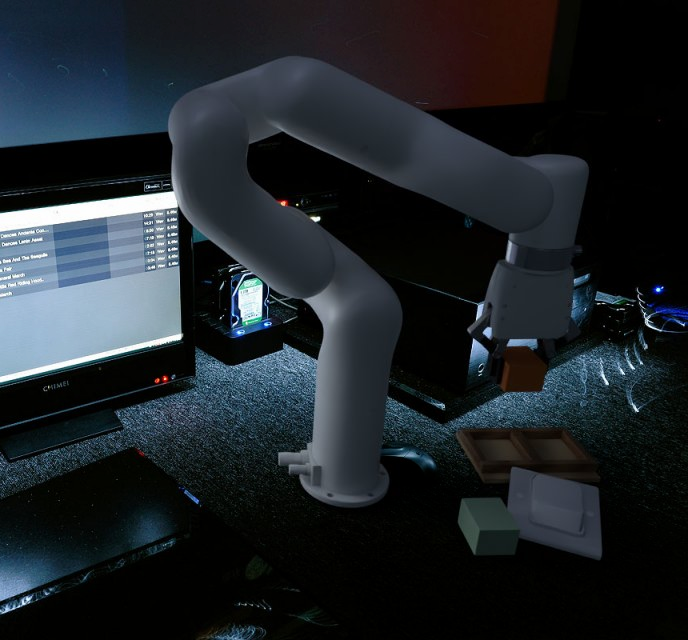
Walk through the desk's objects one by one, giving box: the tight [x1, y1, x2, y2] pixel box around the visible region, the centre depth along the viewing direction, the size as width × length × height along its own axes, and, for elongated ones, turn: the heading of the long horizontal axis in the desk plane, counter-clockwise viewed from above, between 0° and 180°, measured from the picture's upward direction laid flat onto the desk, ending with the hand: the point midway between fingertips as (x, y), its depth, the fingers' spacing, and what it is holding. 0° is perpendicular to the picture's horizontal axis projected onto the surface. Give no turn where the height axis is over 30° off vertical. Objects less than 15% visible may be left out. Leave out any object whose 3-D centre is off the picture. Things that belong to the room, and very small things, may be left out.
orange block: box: [498, 345, 548, 393], centre depth 91 cm, size 5×6×4 cm
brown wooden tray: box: [455, 426, 601, 484], centre depth 99 cm, size 16×12×2 cm
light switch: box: [506, 467, 603, 561], centre depth 87 cm, size 11×4×13 cm
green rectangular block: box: [457, 497, 520, 556], centre depth 84 cm, size 5×6×4 cm
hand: (514, 378), depth 92 cm, fingers closed on orange block, 5 cm apart
